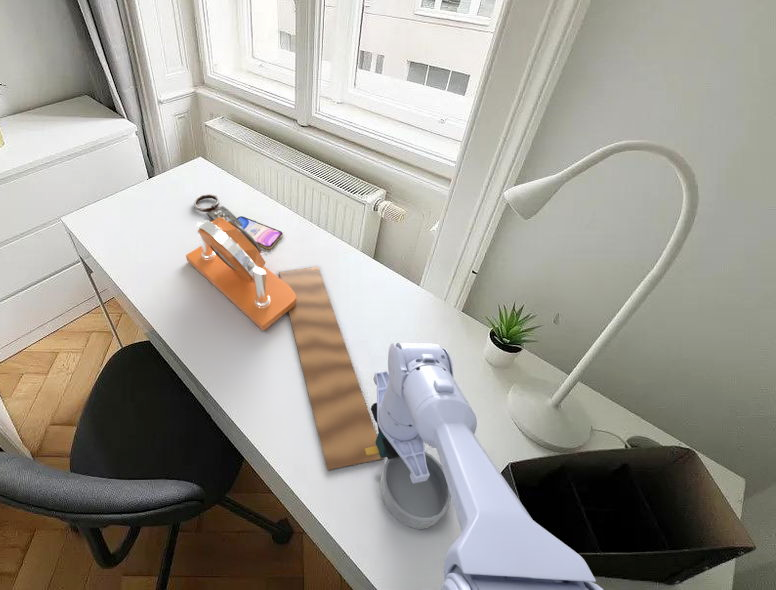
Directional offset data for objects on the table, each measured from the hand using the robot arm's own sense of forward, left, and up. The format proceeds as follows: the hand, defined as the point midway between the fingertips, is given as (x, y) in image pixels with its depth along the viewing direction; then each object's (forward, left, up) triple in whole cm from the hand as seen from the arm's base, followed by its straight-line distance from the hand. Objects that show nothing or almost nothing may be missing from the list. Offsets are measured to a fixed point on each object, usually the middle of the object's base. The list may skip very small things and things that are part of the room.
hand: (389, 445), depth 63 cm
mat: (+24, 0, -8) cm, 25 cm away
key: (0, 0, -1) cm, 1 cm away
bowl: (-5, -3, -8) cm, 10 cm away
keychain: (+75, +10, -8) cm, 76 cm away
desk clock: (+48, +11, -8) cm, 50 cm away
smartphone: (+63, +2, -8) cm, 64 cm away
